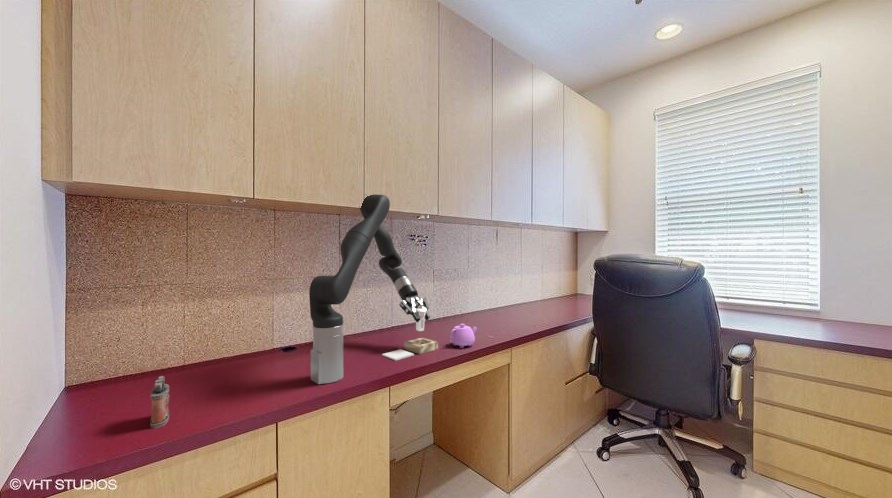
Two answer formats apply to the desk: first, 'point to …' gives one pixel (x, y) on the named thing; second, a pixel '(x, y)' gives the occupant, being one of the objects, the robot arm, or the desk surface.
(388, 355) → the mat
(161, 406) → the lighter
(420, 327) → the milkshake
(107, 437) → the desk surface
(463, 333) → the teapot
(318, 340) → the robot arm
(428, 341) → the holder
